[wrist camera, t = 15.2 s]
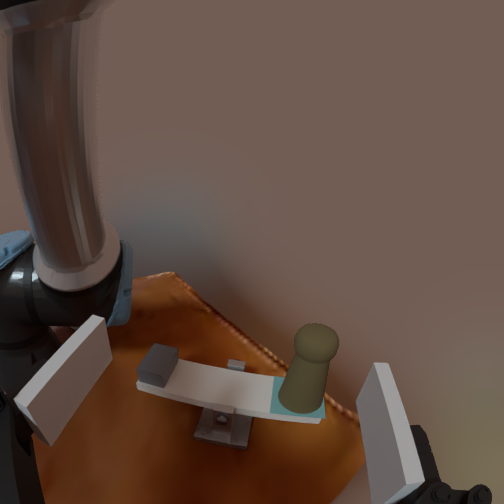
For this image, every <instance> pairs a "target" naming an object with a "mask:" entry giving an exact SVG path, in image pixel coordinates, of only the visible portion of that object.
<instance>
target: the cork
mask: <svg viewBox="0 0 504 504" xmlns="http://www.w3.org/2000/svg"><path fill="white" fill-rule="evenodd" d="M338 347H339V339H338V335H337V334H336V332H335V331H334V330H333V329H331V328H329V327H328V326H326V325H322V324H316V323H315V324H307V325H304V326H303V327H301V328H300V329H299V330H298V332H297V333H296V335H295V339H294V349H295V351H296V353H295V355H294V358H293V360H292V362H291V365H290V367H289V369H288V372H287V374H286V376H285V379H284V381H283V383H282V385H281V388H280V390H279V392H278V399H279V402H280V403H281V404H282V406H283V407H284V408H286V409H287V410H289V411H291V412H294V413H298V414H308V413H312V412H314V411H316V410H318V409H319V408H320V407H321V405H322V402H323V397H324V392H325V386H326V381H327V375H328V369H329V362H330V360H331V359H332V358H333V357H334V356H335V355H336V353H337V350H338Z"/></svg>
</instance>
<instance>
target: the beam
mask: <svg viewBox="0 0 504 504" xmlns="http://www.w3.org/2000/svg"><path fill="white" fill-rule="evenodd" d="M137 372H138V378H139V380H138V381H137V383H136V384H137V389H138V390H141V391H145V392H148V393H151V394H155V395H158V396H162V397H165V398H169V399H172V400H176V401H180V402H184V403H188V404H192V405H197V406H201V407H205V408H210V409H213V408H214V405H215V403H217V404H222V405H228V406H233V407H235V408H234V413H236V414H241V415H247V416H254V417H260V418H267V419H275V420H283V421H292V422H302V423H315V424H319V422H320V420H321V418H325V406H324V397H323V402H322V405H321V407H320V408H319V409H318V410H316V411H314V412H312V413H308V414H298V413H294V412H291V411H289V410H287V409H286V408H284V407H283V406H282V404H281V403H280V402H279V399H278V392H279V390H280V388H281V385H282V383H283V381H284V379H285V378H284V377H276V376H274V377H273V376H266V375H259V374H253V373H247V372H241V371H235V370H229V369H224V368H219V367H214V366H209V365H204V364H199V363H195V362H190V361H186V360H181V359H178V348H174V347H170V346H165V345H161V344H157V343H154V344H153V346H152V347H151V349H150V350H149V352H148V353H147V354H146V356H145V357H144V359H143V360H142V362H141V363H140V365H139V366H138V368H137Z"/></svg>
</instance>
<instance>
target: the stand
mask: <svg viewBox="0 0 504 504" xmlns="http://www.w3.org/2000/svg"><path fill="white" fill-rule="evenodd" d="M245 363H246V362H243V361H240V360H232V359H229V361H228V365H227V369H229V370H235V371H241V372H244V371H245ZM234 408H235V407H233V406H228V405H222V404H217V403H215V405H214V408H213V409H210V408H205V407H204V408H203V411H202V414H201V417H200V420H199V422H198V425H197V428H196V431H195V434H194V440H196V441H201V442H205V443H210V444H214V445H219V446H224V447H230V448H235V449H241V450H246V448H247V443H248V438H249V433H250V427H251V422H252V416H247V415H241V414H236V413H234Z"/></svg>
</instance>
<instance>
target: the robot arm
mask: <svg viewBox="0 0 504 504" xmlns="http://www.w3.org/2000/svg"><path fill="white" fill-rule="evenodd" d="M117 1H118V0H0V99H1V108H2V116H3V122H4V128H5V133H6V139H7V144H8V149H9V154H10V158H11V163H12V167H13V171H14V175H15V179H16V182H17V186H18V189H19V193H20V197H21V199H22V203H23V206H24V209H25V213H26V216H27V218H28V221H29V224H30V227H31V230H32V232H33V235H34V237H33V236H32V233H31V232H29V231H25V230H20V231H14V232H9V233H6V234H3V235H0V504H45V501H44V497H43V493H42V489H41V484H40V480H39V475H38V470H37V465H36V459H35V453H34V446H33V440H32V437H31V435H32V433H33V432H34V433H35V435H36V436H37V438H38V439H39V440H41V441H42V442H44V443H46V444H47V445H49V446H52V445H53V443H54V442H55V440H56V439H57V437H58V436H59V434H60V433H61V431H62V430H63V428H64V427H65V425H66V424H67V423H68V421H69V420H70V418H71V417H72V415H73V414H74V412H75V411H76V409H77V408H78V407H79V405H80V404H81V402H82V401H83V399H84V398H85V397H86V395H87V394H88V392H89V391H90V390H91V388H92V387H93V385H94V384H95V383H96V381H97V380H98V378H99V377H100V376H101V374H102V373H103V371H104V370H105V369H106V367H107V366H108V365H109V363H110V362H111V361H112V354H111V349H110V344H109V339H108V334H107V328H108V327H109V326H121V325H124V324H126V323H127V322H128V321H129V319H130V314H131V290H132V265H133V248H132V245H131V244H130V243H128V242H124V241H123V240H122V241H121V240H119V237H118V234H117V232H116V230H115V229H114V228H113V227H112V226H111V225H110V224H109V223H108V222H107V221H105V220H104V214H103V205H102V196H101V186H100V174H99V161H98V139H97V86H98V85H97V84H98V65H99V52H100V41H101V32H102V24H103V16H104V14H105V12H106V11H107V9H109V8H110V7H111V6H112V5H113V4H114V3H116V2H117ZM34 238H35V241H36V244H35V243H33V242H34ZM50 326H72V327H80V328H79V329H78V330H77V331H76V332H75V333H74V334H73V335H72V336H71V337H70V338H69V339H68V340H67V341H66V342H65V343H64V344H63V345H62V344H61V342H60V341H59V339H58V338H57V336H56V335H55V333H54V332H53V330H52V329H51V327H50ZM2 389H3V390H4V392H6V393H7V394H6V395H5V394H4V392H3V390H2ZM356 404H357V410H358V416H359V421H360V427H361V432H362V438H363V444H364V451H365V457H366V464H367V471H368V478H369V486H370V494H371V502H372V504H491V501H492V494H491V491H490V489H489V488H488V487H487V486H485V485H482V484H480V485H476V486H474V487H473V488H472V489H470V490H469V491H466V490H453V489H451V487H450V486H449V485H448V484H446V483H444V482H441V479H440V477H439V473H438V470H437V466H436V463H435V460H434V456H433V453H432V452H431V447H430V445H429V441H428V438H427V435H426V433H425V432H424V430H423V429H422V428H421V426H420V425H411V426H409V423H408V419H407V417H406V413H405V410H404V407H403V404H402V401H401V398H400V395H399V392H398V390H397V387H396V384H395V381H394V378H393V375H392V373H391V370H390V367H389V364H388V363H374V364H373V366H372V368H371V370H370V372H369V375H368V377H367V379H366V381H365V383H364V385H363V387H362V390H361V391H360V394H359V396H358V398H357V400H356Z"/></svg>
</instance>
